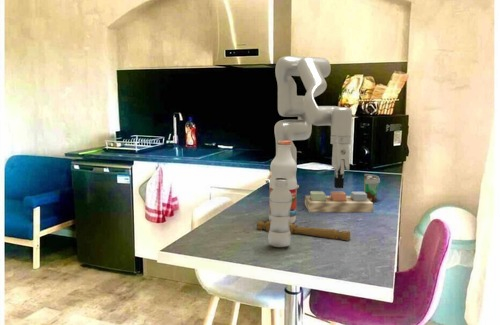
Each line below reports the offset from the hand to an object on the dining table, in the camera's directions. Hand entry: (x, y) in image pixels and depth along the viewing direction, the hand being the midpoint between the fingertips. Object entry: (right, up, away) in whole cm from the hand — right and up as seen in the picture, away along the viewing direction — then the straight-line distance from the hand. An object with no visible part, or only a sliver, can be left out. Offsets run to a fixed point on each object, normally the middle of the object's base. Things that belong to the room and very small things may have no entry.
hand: (338, 187), depth 175 cm
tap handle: (-18, -14, -31) cm, 38 cm away
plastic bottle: (-26, -15, -42) cm, 52 cm away
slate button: (+8, -6, +1) cm, 10 cm away
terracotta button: (0, -6, +1) cm, 6 cm away
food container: (+17, -6, +15) cm, 23 cm away
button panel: (0, -8, +1) cm, 8 cm away
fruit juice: (-23, -11, -17) cm, 30 cm away
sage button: (-8, -5, +1) cm, 10 cm away
